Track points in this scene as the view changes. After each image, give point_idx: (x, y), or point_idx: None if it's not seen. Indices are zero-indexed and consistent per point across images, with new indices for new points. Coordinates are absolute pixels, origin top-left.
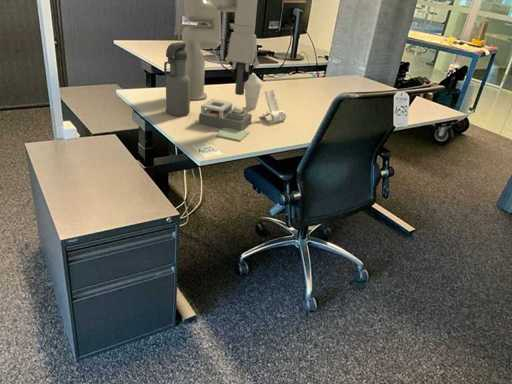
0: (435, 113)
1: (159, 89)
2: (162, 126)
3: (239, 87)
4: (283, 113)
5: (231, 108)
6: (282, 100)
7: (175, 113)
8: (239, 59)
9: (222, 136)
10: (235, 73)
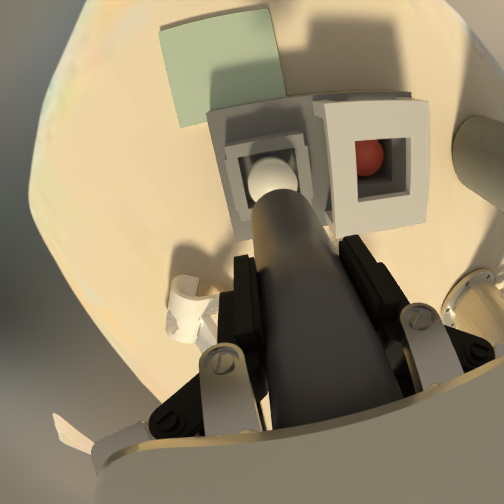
0: (74, 440)
1: None
2: (449, 12)
3: (278, 214)
4: (171, 331)
5: (328, 219)
6: (269, 409)
7: (476, 117)
8: (384, 463)
9: (237, 13)
10: (366, 279)
